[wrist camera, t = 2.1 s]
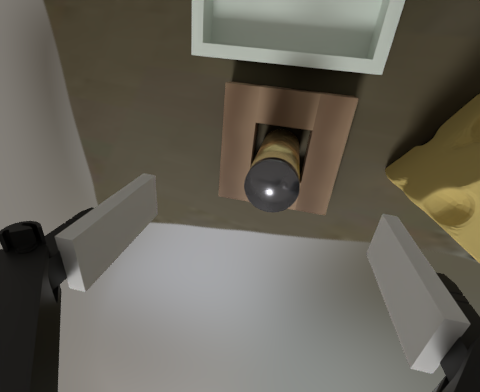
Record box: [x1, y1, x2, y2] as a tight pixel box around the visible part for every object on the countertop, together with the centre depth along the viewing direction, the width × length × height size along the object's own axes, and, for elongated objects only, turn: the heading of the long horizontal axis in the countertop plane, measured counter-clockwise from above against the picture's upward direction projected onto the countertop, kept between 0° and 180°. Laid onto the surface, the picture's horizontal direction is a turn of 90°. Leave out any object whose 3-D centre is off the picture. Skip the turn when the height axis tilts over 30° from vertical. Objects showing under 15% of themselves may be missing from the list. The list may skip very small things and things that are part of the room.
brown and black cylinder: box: [244, 129, 300, 212], centre depth 24 cm, size 4×4×11 cm
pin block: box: [218, 82, 359, 215], centre depth 27 cm, size 12×12×2 cm
